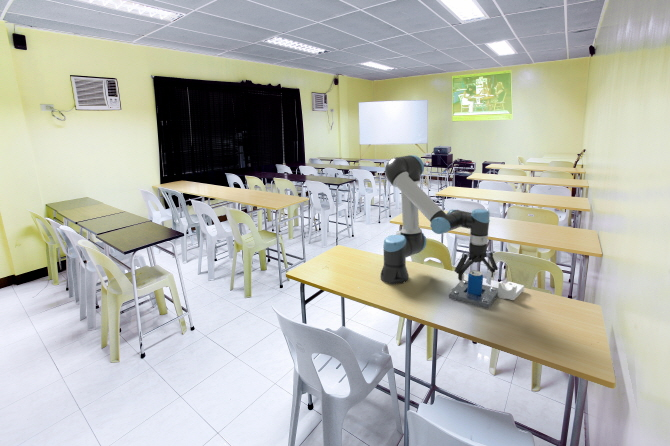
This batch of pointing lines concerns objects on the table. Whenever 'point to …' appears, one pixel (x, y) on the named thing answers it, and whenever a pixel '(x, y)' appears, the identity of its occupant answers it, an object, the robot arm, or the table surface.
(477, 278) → the beverage can
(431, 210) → the robot arm
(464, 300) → the grey fixture plate
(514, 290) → the bracket
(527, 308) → the table surface
